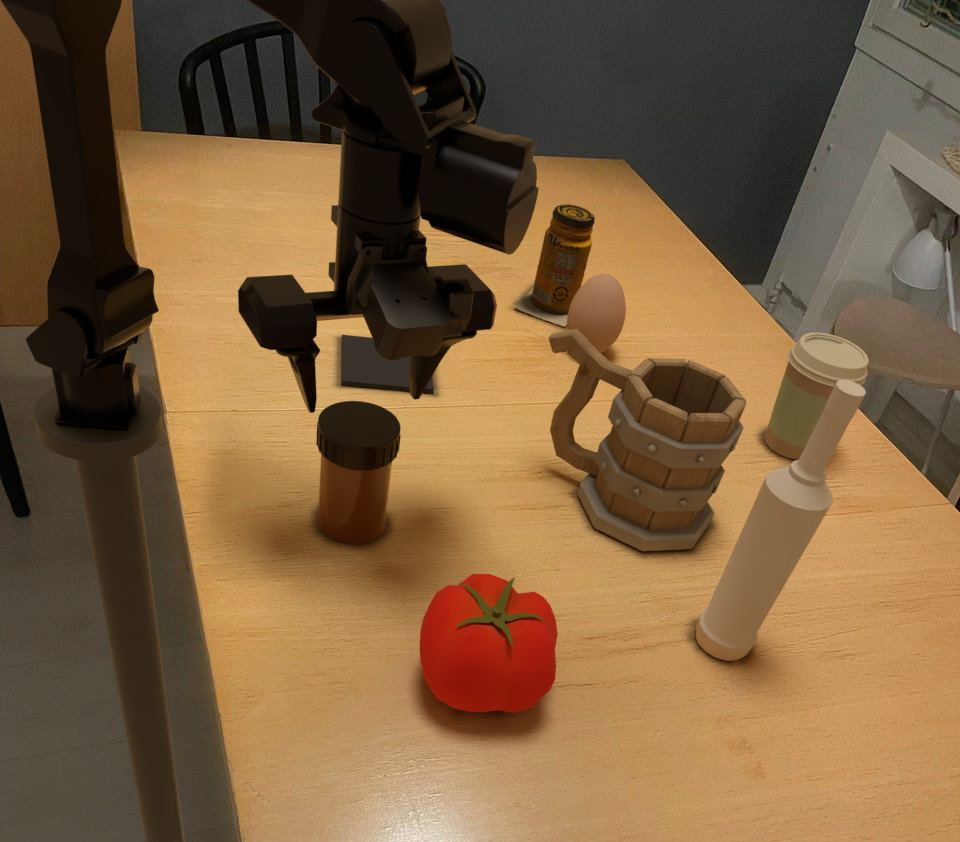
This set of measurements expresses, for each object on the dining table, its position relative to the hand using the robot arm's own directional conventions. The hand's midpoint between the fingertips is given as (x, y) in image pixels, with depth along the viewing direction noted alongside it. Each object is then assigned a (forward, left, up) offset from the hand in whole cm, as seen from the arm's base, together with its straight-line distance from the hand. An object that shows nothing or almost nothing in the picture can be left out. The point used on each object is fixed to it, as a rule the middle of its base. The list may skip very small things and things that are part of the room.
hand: (363, 403), depth 74 cm
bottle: (+32, -13, -12) cm, 37 cm away
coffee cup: (+50, +19, -12) cm, 55 cm away
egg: (+29, +36, -12) cm, 47 cm away
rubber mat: (+4, +28, -12) cm, 30 cm away
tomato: (+10, -19, -12) cm, 25 cm away
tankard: (+26, +7, -12) cm, 29 cm away
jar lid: (0, 0, -2) cm, 2 cm away
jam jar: (0, 0, -12) cm, 12 cm away
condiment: (+26, +47, -12) cm, 55 cm away
